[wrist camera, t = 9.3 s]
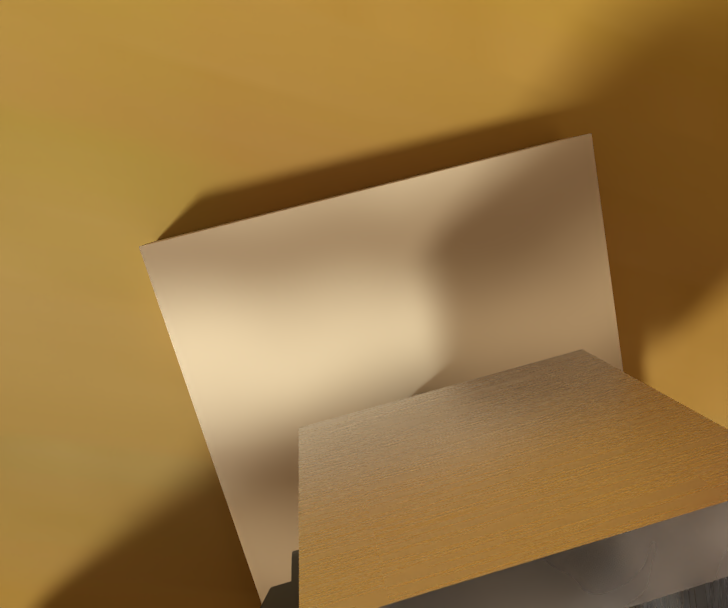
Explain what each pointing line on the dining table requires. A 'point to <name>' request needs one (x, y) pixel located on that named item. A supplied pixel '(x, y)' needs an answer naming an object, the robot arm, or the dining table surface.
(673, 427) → the collar
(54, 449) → the dining table surface
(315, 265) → the stand
